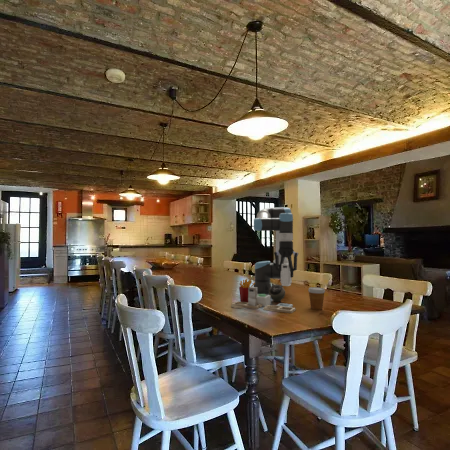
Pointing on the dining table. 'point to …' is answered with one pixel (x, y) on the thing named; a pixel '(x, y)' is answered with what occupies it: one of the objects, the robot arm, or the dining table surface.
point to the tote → (285, 305)
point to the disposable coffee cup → (316, 297)
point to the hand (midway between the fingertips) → (286, 282)
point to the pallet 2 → (279, 308)
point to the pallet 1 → (249, 300)
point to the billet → (285, 274)
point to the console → (264, 300)
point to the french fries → (244, 290)
